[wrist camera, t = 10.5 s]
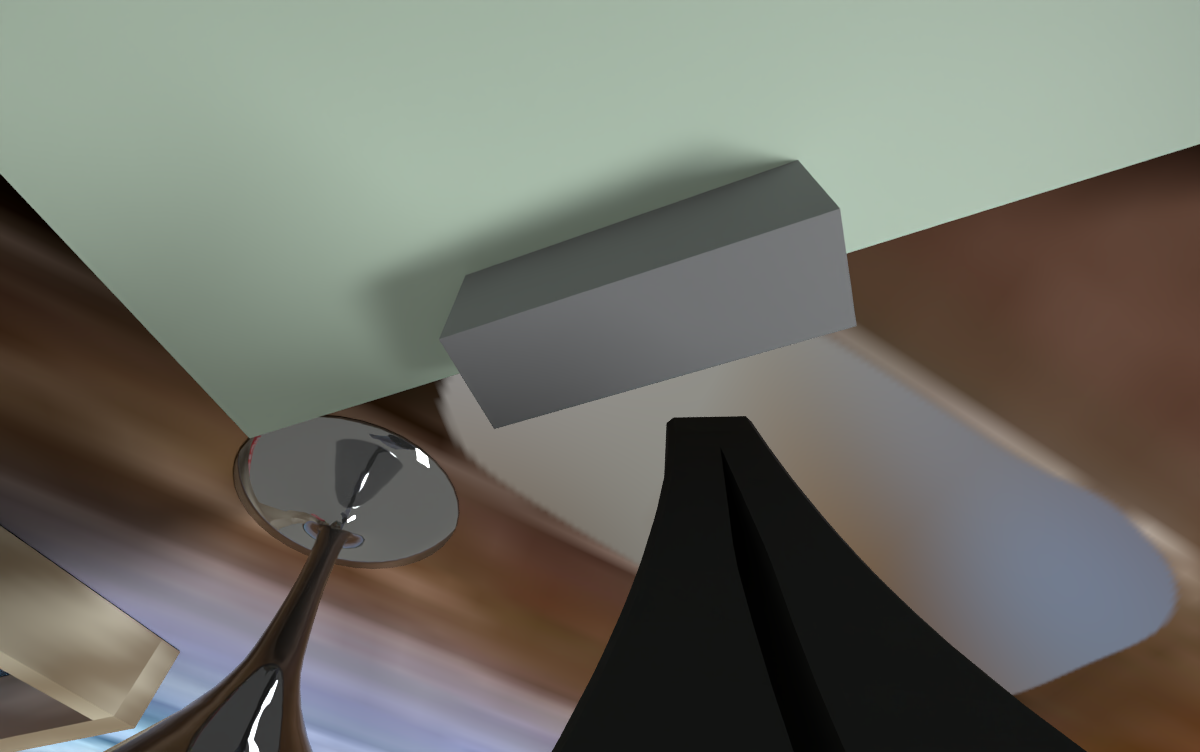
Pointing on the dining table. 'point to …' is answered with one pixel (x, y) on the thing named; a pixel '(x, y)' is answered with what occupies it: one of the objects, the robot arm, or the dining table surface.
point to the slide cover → (545, 171)
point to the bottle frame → (68, 656)
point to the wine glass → (311, 565)
